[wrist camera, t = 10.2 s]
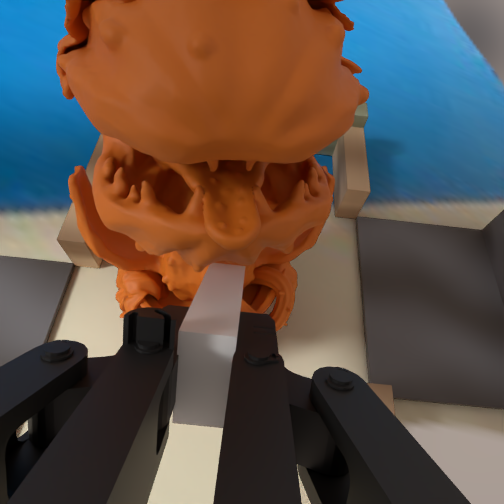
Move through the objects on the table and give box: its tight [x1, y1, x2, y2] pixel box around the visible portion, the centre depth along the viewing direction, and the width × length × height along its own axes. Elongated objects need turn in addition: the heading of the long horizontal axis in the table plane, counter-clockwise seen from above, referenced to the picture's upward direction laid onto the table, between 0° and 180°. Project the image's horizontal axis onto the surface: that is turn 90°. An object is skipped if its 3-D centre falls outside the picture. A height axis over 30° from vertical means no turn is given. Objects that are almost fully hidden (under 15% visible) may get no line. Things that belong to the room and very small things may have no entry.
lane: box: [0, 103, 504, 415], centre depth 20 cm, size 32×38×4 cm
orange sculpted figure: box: [56, 0, 369, 332], centre depth 15 cm, size 11×11×18 cm
